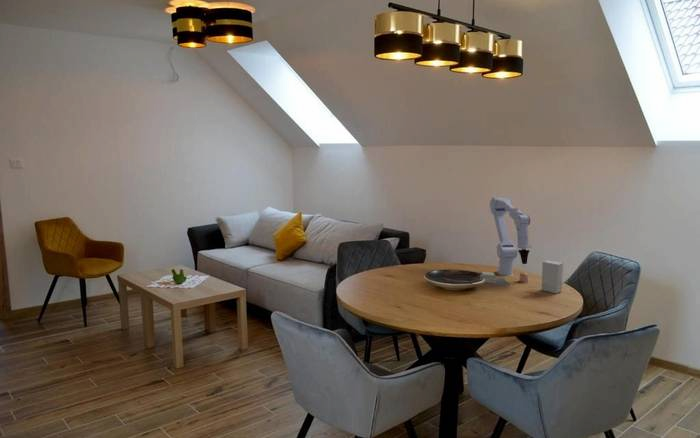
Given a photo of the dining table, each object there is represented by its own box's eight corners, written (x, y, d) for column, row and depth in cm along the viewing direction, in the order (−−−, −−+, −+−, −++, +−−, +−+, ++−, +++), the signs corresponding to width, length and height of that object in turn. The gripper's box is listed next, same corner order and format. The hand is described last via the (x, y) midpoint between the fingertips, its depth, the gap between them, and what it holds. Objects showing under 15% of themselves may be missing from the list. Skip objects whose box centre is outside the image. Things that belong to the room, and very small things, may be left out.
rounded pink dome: (518, 281, 282) (519, 272, 281) (526, 281, 281) (527, 272, 281) (520, 283, 277) (520, 274, 277) (528, 284, 277) (529, 274, 276)
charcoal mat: (466, 277, 287) (466, 276, 286) (504, 279, 285) (504, 278, 285) (470, 285, 271) (470, 284, 271) (510, 287, 269) (510, 286, 269)
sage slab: (481, 275, 281) (481, 271, 280) (492, 276, 280) (493, 272, 280) (483, 278, 275) (483, 274, 274) (495, 279, 274) (495, 275, 274)
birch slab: (479, 279, 282) (480, 275, 281) (493, 279, 281) (493, 276, 281) (482, 282, 275) (482, 278, 274) (495, 283, 274) (496, 279, 274)
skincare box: (561, 292, 264) (564, 262, 262) (556, 294, 260) (558, 264, 258) (545, 288, 270) (548, 259, 268) (539, 290, 266) (542, 261, 264)
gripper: (531, 236, 270) (532, 263, 268) (531, 238, 284) (532, 263, 282) (516, 237, 272) (518, 263, 271) (517, 238, 286) (518, 264, 284)
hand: (524, 263), depth 277 cm, fingers open, 7 cm apart
